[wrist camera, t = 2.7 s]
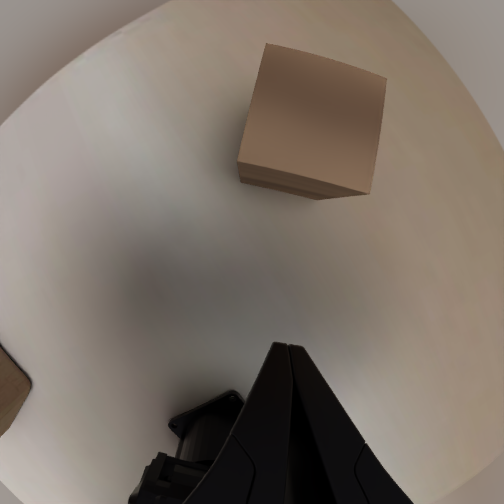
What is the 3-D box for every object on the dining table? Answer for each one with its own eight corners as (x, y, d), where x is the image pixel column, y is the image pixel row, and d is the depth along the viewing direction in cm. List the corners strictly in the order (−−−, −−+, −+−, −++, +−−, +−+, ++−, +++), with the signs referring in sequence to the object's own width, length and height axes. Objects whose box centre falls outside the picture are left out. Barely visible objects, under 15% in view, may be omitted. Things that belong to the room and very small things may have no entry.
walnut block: (317, 200, 20) (369, 194, 11) (240, 182, 20) (236, 161, 11) (331, 128, 19) (386, 78, 10) (257, 109, 19) (266, 43, 10)
